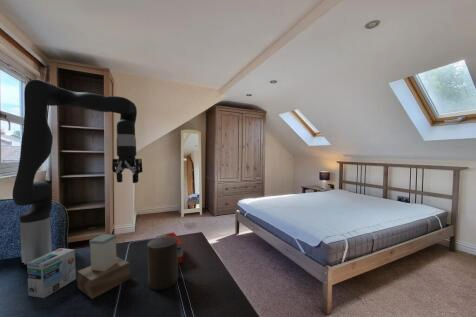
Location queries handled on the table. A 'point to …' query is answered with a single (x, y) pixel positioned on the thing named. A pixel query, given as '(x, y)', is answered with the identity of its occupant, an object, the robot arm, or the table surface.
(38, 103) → the robot arm
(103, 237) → the pale grey tall block
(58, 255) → the light bulb box
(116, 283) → the walnut block
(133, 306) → the table surface
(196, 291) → the table surface
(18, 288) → the table surface
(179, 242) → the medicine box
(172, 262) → the pillar candle
